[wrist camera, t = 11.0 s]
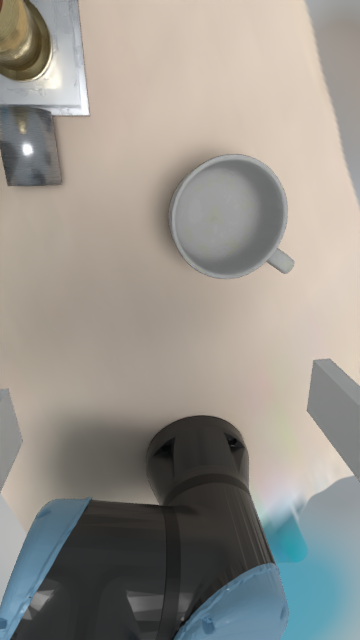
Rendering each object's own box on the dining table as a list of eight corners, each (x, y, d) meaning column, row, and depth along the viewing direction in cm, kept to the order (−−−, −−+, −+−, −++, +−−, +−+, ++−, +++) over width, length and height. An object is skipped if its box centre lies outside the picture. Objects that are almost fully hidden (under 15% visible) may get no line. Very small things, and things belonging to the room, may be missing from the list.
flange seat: (97, 183, 35) (91, 184, 30) (-15, 185, 34) (-38, 187, 29) (73, -37, 28) (62, -76, 24) (-67, -44, 27) (-107, -86, 23)
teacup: (144, 211, 37) (145, 220, 29) (218, 133, 34) (240, 122, 27) (225, 296, 42) (244, 322, 34) (295, 233, 39) (331, 246, 32)
